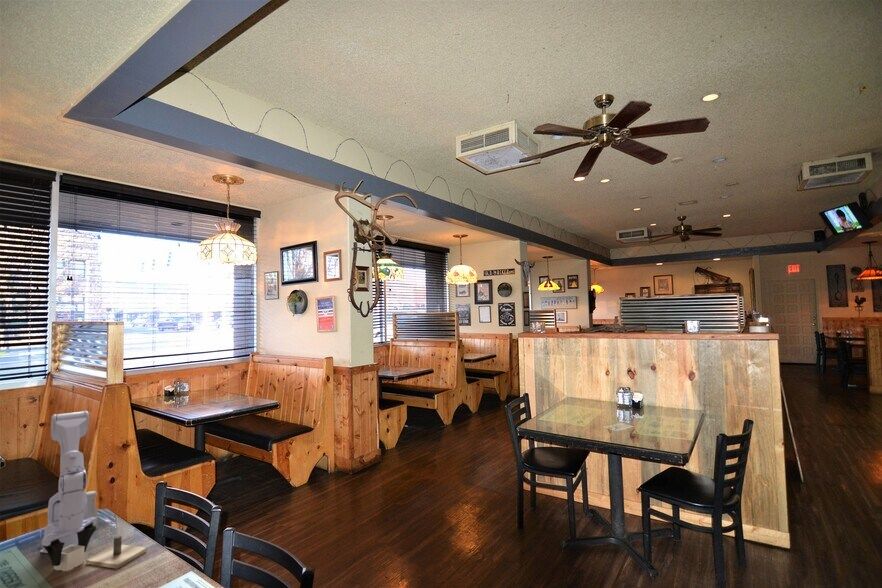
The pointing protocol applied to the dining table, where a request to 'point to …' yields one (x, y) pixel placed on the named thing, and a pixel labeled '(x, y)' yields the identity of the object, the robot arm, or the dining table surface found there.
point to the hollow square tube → (71, 557)
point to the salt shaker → (91, 506)
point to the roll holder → (116, 555)
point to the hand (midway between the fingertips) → (69, 558)
